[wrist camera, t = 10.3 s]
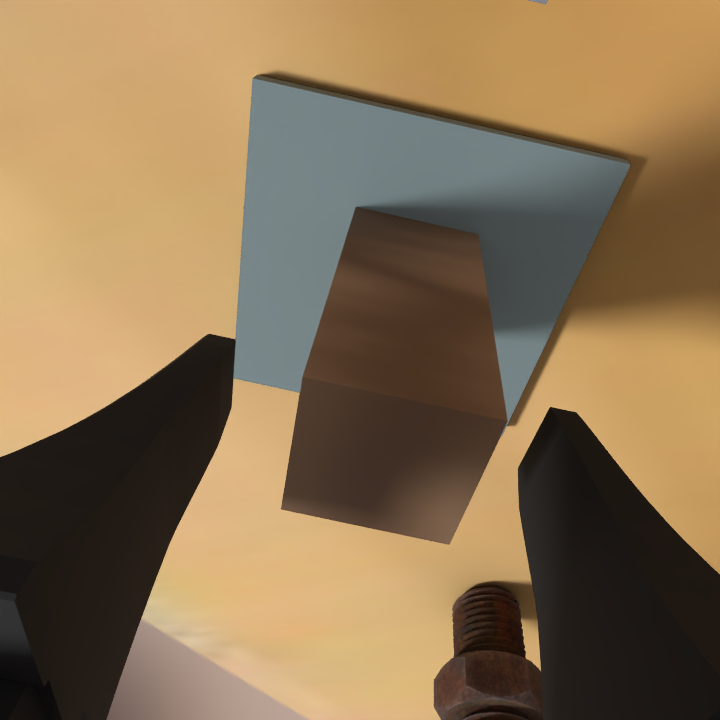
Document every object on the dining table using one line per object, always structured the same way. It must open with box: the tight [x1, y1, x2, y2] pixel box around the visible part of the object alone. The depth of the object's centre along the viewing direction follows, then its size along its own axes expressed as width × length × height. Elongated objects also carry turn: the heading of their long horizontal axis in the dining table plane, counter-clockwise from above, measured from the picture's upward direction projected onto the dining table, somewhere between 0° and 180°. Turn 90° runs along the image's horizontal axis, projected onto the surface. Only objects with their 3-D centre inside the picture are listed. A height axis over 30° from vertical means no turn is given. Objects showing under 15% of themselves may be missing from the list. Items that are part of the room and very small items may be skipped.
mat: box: [233, 75, 631, 436], centre depth 18 cm, size 10×10×1 cm
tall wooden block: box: [281, 207, 508, 545], centre depth 14 cm, size 4×4×8 cm
